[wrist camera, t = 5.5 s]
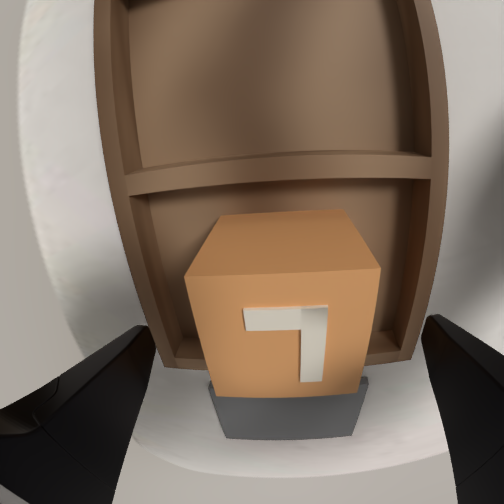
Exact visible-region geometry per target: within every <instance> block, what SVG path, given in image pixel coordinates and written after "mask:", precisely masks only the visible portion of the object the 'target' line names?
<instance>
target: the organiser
mask: <svg viewBox="0 0 504 504" xmlns="http://www.w3.org/2000/svg"><path fill="white" fill-rule="evenodd" d="M94 70H95V86H96V98H97V108H98V117H99V126H100V133H101V140H102V147H103V154H104V160H105V166H106V171H107V177H108V182H109V187H110V192H111V197H112V201H113V206H114V210H115V215H116V219H117V223H118V227H119V231H120V235H121V239H122V243H123V247H124V250H125V254H126V258H127V261H128V265H129V268H130V271H131V275H132V278H133V281H134V284H135V288H136V291H137V294H138V297H139V300H140V303H141V306H142V309H143V312H144V315H145V317H146V320H147V323H148V326H149V329H150V331H151V334H152V336H153V339H154V342H155V344H156V347H157V350H158V352H159V355H160V357H161V360H162V362H163V364H164V367H168V368H180V369H193V370H208V367H207V364H206V360H205V357H204V353H203V350H202V346H201V342H200V339H199V335H198V331H197V328H196V324H195V320H194V316H193V312H192V308H191V304H190V300H189V296H188V292H187V287H186V283H185V279H184V276H185V274H186V272H187V271H188V269H189V267H190V266H191V264H192V262H193V260H194V259H195V257H196V255H197V254H198V252H199V250H200V249H201V247H202V245H203V244H204V242H205V240H206V239H207V237H208V235H209V234H210V232H211V231H212V229H213V227H214V226H215V224H216V222H217V221H218V219H219V218H220V216H223V215H237V214H253V213H270V212H288V211H310V210H336V209H344V211H345V212H346V214H347V215H348V217H349V218H350V220H351V221H352V223H353V224H354V226H355V227H356V229H357V230H358V232H359V234H360V235H361V237H362V238H363V240H364V241H365V243H366V245H367V246H368V248H369V249H370V251H371V253H372V254H373V256H374V257H375V259H376V261H377V262H378V264H379V266H380V267H381V272H380V280H379V287H378V294H377V301H376V307H375V313H374V319H373V324H372V330H371V335H370V340H369V345H368V350H367V354H366V359H365V363H364V366H369V365H377V364H385V363H392V362H399V361H405V360H411V358H412V355H413V352H414V349H415V346H416V343H417V340H418V337H419V334H420V330H421V327H422V324H423V320H424V317H425V313H426V309H427V306H428V302H429V298H430V294H431V290H432V285H433V281H434V276H435V272H436V267H437V262H438V256H439V251H440V245H441V238H442V232H443V224H444V216H445V208H446V197H447V185H448V167H449V117H448V100H447V88H446V78H445V70H444V62H443V56H442V49H441V44H440V38H439V33H438V28H437V24H436V19H435V15H434V11H433V7H432V3H431V0H95V1H94Z"/></svg>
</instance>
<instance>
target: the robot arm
mask: <svg viewBox="0 0 504 504" xmlns="http://www.w3.org/2000/svg"><path fill="white" fill-rule="evenodd" d="M421 342H422V347H423V351H424V355H425V359H426V364H427V369H428V373H429V378H430V382H431V385H432V388H433V392H434V395H435V398H436V402H437V405H438V409H439V412H440V416H441V419H442V423H443V427H444V431H445V435H446V439H447V444H448V448H449V452H450V457H451V462H452V467H453V473H454V479H455V484H456V486H457V487H456V493H457V500H458V504H504V355H502V354H501V353H499V352H498V351H496V350H495V349H493V348H492V347H490V346H489V345H487V344H486V343H484V342H483V341H481V340H479V339H478V338H476V337H475V336H473V335H472V334H470V333H469V332H467V331H465V330H464V329H462V328H461V327H459V326H457V325H456V324H454V323H453V322H451V321H449V320H448V319H446V318H445V317H443V316H441V315H440V314H435V315H429V316H428V317H427V319H426V322H425V325H424V328H423V332H422V335H421ZM155 352H156V345H155V342H154V339H153V336H152V334H151V331H150V329H149V327H148V326H142V325H137V326H135V327H133V328H131V329H130V330H128V331H127V332H125V333H124V334H122V335H121V336H119V337H118V338H116V339H115V340H113V341H112V342H110V343H109V344H107V345H105V346H104V347H102V348H101V349H99V350H98V351H96V352H95V353H93V354H92V355H90V356H89V357H87V358H86V359H84V360H83V361H81V362H80V363H78V364H76V365H75V366H73V367H72V368H70V369H69V370H67V371H66V372H64V373H63V374H61V375H60V377H57V378H55V379H54V380H52V381H51V382H49V383H47V384H46V385H44V386H43V387H41V388H39V389H37V390H36V391H34V392H32V393H30V394H29V395H27V396H25V397H23V398H21V399H19V400H17V401H16V402H14V403H12V404H10V405H8V406H6V407H4V408H2V409H0V504H112V501H113V498H114V494H115V490H116V486H117V482H118V479H119V475H120V472H121V469H122V465H123V462H124V458H125V455H126V451H127V448H128V445H129V442H130V439H131V436H132V432H133V429H134V426H135V423H136V420H137V417H138V414H139V411H140V408H141V405H142V402H143V399H144V396H145V393H146V390H147V386H148V382H149V378H150V373H151V369H152V365H153V360H154V356H155Z"/></svg>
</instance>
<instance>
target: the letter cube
mask: <svg viewBox="0 0 504 504" xmlns="http://www.w3.org/2000/svg"><path fill="white" fill-rule="evenodd" d="M380 272H381V267H380V266H379V264H378V262H377V261H376V259H375V257H374V256H373V254H372V253H371V251H370V249H369V248H368V246H367V245H366V243H365V241H364V240H363V238H362V237H361V235H360V234H359V232H358V230H357V229H356V227H355V226H354V224H353V223H352V221H351V220H350V218H349V217H348V215H347V214H346V212H345V211H344V209H336V210H310V211H288V212H270V213H253V214H237V215H223V216H220V218H219V219H218V221H217V222H216V224H215V226H214V227H213V229H212V231H211V232H210V234H209V235H208V237H207V239H206V240H205V242H204V244H203V245H202V247H201V249H200V250H199V252H198V254H197V255H196V257H195V259H194V260H193V262H192V264H191V266H190V267H189V269H188V271H187V272H186V274H185V276H184V279H185V283H186V287H187V292H188V296H189V300H190V304H191V308H192V312H193V316H194V320H195V324H196V328H197V331H198V335H199V339H200V342H201V346H202V350H203V353H204V357H205V360H206V364H207V367H208V371H209V374H210V377H211V381H212V384H213V387H214V390H215V394H216V396H222V397H247V398H287V397H312V396H327V395H340V394H350V393H357V391H358V387H359V384H360V380H361V376H362V372H363V367H364V363H365V359H366V354H367V350H368V345H369V340H370V335H371V330H372V324H373V319H374V313H375V307H376V301H377V294H378V287H379V280H380Z"/></svg>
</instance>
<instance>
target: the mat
mask: <svg viewBox="0 0 504 504" xmlns="http://www.w3.org/2000/svg"><path fill="white" fill-rule="evenodd" d="M368 384H369V383H368V379H367V377H361V380H360V384H359V387H358V391H357V393H350V394H340V395H327V396H312V397H287V398H247V397H222V396H216V394H215V390H214V387H213V384H212V381H210V385H209V391H210V394H211V397H212V400H213V403H214V406H215V409H216V411H217V414H218V417H219V420H220V423H221V426H222V428H223V431H224V434H225V436H226V438H230V439H248V440H302V439H320V438H333V437H343V436H352V433H353V430H354V428H355V425H356V422H357V419H358V416H359V413H360V410H361V407H362V404H363V401H364V398H365V394H366V391H367V388H368Z"/></svg>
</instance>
